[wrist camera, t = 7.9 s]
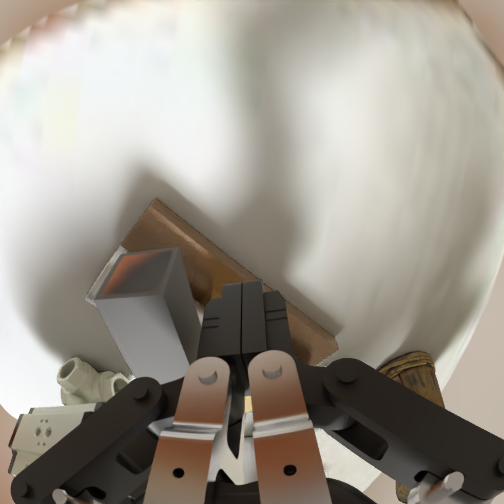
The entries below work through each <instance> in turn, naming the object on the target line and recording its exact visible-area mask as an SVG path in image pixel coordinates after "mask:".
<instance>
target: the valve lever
mask: <svg viewBox="0 0 504 504" xmlns="http://www.w3.org/2000/svg"><path fill="white" fill-rule="evenodd" d="M94 302H95V304H96V306H97V309H98V311H99V313H100V315H101V317H102V319H103V321H104V323H105V325H106V326H107V328H108V330H109V332H110V334H111V336H112V338H113V340H114V342H115V343H116V345H117V347H118V349H119V351H120V352H121V354H122V356H123V358H124V359H125V361H126V363H127V365H128V366H129V368H130V370H131V371H132V373H133V375H134V376H135V378H136V379H137V378H140V377H151V378H154V379H155V380H157V381H158V382H159V384H160V385H161V384H164V383H168V382H171V381H174V380H177V379H180V378H182V377H184V376H185V374H186V371H187V369H188V368H189V366H190V365H191V364H192V363H194V362H195V361H196V359H197V353H198V346H199V340H200V333H201V329H202V328H201V324H200V320H199V317H198V314H197V310H196V307H195V303H194V300H193V296H192V293H191V289H190V285H189V282H188V278H187V274H186V270H185V267H184V263H183V259H182V255H181V251H180V247H174V248H165V249H157V250H149V251H141V252H133V253H125V254H120V256H119V257H118V259H117V261H116V262H115V264H114V265H113V267H112V269H111V270H110V272H109V274H108V275H107V277H106V279H105V281H104V282H103V284H102V286H101V287H100V289H99V291H98V293H97V294H96V296H95V298H94Z"/></svg>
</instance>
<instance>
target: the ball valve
mask: <svg viewBox="0 0 504 504" xmlns="http://www.w3.org/2000/svg"><path fill="white" fill-rule="evenodd" d="M57 382H58V384H59V385H61V386H62V387H61V399H62V403H63V404H64V405H65V406H56V407H40V408H31V409H30V411H29V414H20V416H19V419H18V421H17V424H16V426H15V429H14V431H13V434H12V437H11V439H10V442H9V445H8V446H9V448H11V449H12V454H13V457H12V460H11V463H10V466H9V469H8V473H9V474H11V475H12V476H14V477H15V476H16V475H17V474H19V473H20V472H21V471H22V470H24V469H25V468H26V467H27V466H29V465H30V464H31V463H32V462H34V461H35V460H36V459H37V458H39V457H40V456H41V455H42V454H44V453H45V452H46V451H47V450H49V449H50V448H51V447H52V446H54V445H55V444H56V443H57V442H58V441H60V440H61V439H62V438H63V437H65V436H66V435H67V434H68V433H69V432H71V431H72V430H73V429H74V428H76V427H77V426H78V425H79V424H80V423H82V422H83V421H84V420H85V419H86V418H88V417H89V416H90V415H91V414H92V413H94V412H95V411H96V410H97V409H98V408H100V407H101V406H102V405H103V404H104V403H106V402H107V401H108V400H109V399H110V398H112V397H113V396H114V395H115V394H116V393H118V392H119V391H120V390H121V389H122V388H124V387H125V386H126V385H127V384H128V383H130V381H129V380H128V379H127V378H126V377H125V376H124V375H122V374H121V373H114V372H112V371H105V372H101V373H98V372H97V371H96V370H95V369H94V368H93V367H92V366H90V365H89V364H88V363H87V362H82V361H81V360H80V359H79V358H78V357H74V358H70V359H68V360H67V361H66V362H65V363H64V364H63V365H62V366H61V367H60V369H59V371H58V374H57ZM148 480H149V478H148V479H147V480H145V481H144V482H143V483H142V484H141V485H140V486H139V487H137V488H136V489H135V490H134V491H133V492H132V493H130V494H129V495H128V496H127V497H126V498H125V499H123V500H122V501H121V502H120V503H119V504H131V503H132V502H133V501H134V500H135V499H137V498H138V497H139V496H140V495H141V494H143V493H144V492H146V489H147V484H148Z"/></svg>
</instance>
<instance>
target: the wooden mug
mask: <svg viewBox="0 0 504 504" xmlns="http://www.w3.org/2000/svg"><path fill="white" fill-rule="evenodd" d="M378 371H379V372H381V373H382V374H384V375H386V376H387V377H389V378H391V379H393V380H394V381H396V382H398V383H400V384H401V385H403V386H405V387H407V388H408V389H410V390H412V391H414V392H415V393H417V394H419V395H421V396H423V397H424V398H426V399H428V400H430V401H432V402H433V403H435V404H437V405H439V406H441V407H442V408H444V409H445V406H444V402H443V399H442V395H441V392H440V388H439V385H438V381H437V378H436V375H435V366H434V363H433V360H432V358H431V356H430V355H429V354H427V353H423V352H414V353H410V354H407V355H404V356H401V357H399V358H396V359H394V360H393V361H391V362H390V363H388V364H386V365H384V366H383V367H382V368H380V369H379V370H378ZM410 491H411V490H410V489H409V488H407V487H405V486H404V485H402V484H400V483H399V482H397V481H396V494H397V497H398V500H399V501H401V502H402V503H405V504H407V500H408V496H409V493H410Z"/></svg>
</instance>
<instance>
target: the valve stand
mask: <svg viewBox="0 0 504 504" xmlns="http://www.w3.org/2000/svg"><path fill="white" fill-rule="evenodd" d="M174 247H180V251H181V255H182V259H183V263H184V267H185V270H186V274H187V278H188V282H189V285H190V289H191V293H192V296H193V300H194V303H195V307H196V310H197V314H198V317H199V320H200V324H201V327H202V321H203V314H204V309H205V307H206V306H207V304H208V303H209V302H210V300H211V299H217V298H221V296H222V287H223V284H231V283H238V282H242V283H243V282H245V281H252V280H259V279H258V278H256V277H255V276H254V275H253V274H251V273H250V272H249V271H247V270H246V269H245V268H244V267H242V266H241V265H240V264H239V263H237V262H236V261H235V260H233V259H232V258H231V257H230V256H228V255H227V254H226V253H224V252H223V251H222V250H221V249H219V248H218V247H217V246H216V245H214V244H213V243H212V242H211V241H209V240H208V239H207V238H205V237H204V236H203V235H202V234H200V233H199V232H198V231H197V230H195V229H194V228H193V227H192V226H190V225H189V224H188V223H187V222H185V221H184V220H183V219H182V218H180V217H179V216H178V215H177V214H175V213H174V212H173V211H172V210H170V209H169V208H168V207H167V206H165V205H164V204H163V203H162V202H160V201H159V200H158V199H157V198H155V199H154V201H153V202H152V203H151V204H150V206H149V207H148V208H147V210H146V211H145V212H144V213H143V215H142V216H141V217H140V219H139V220H138V221H137V223H136V224H135V225H134V226H133V228H132V229H131V230H130V232H129V233H128V234H127V236H126V237H125V239H124V240H123V241H122V243H121V244H120V245H119V247H118V248H117V250H116V251H115V252H114V254H113V255H112V257H111V258H110V259H109V261H108V262H107V264H106V265H105V267H104V268H103V270H102V271H101V273H100V274H99V275H98V277H97V278H96V280H95V281H94V283H93V285H92V286H91V288H90V289H89V291H88V293H87V294H88V295H87V296H86V298H85V300H86V301H88V302H89V303H91V304H92V305H93V306H95V307H96V308H97V306H96V304H95V302H94V298H95V296H96V294H97V293H98V291H99V289H100V287H101V286H102V284H103V282H104V281H105V279H106V277H107V275H108V274H109V272H110V270H111V269H112V267H113V265H114V264H115V262H116V261H117V259H118V257H119V256H120V254H125V253H133V252H141V251H149V250H157V249H165V248H174ZM263 287H264V292H270V291H273V290H272V289H271V288H269V287H268V286H267V285H265V284H264V283H263ZM285 304H286V311H287V317H288V323H289V330H290V336H291V343H292V349H293V353H294V355H295V356H296V358H297V359H299V360H300V361H301V362H303V363H305V364H307V365H310V366H314V365H316V364H317V363H319V362H320V361H322V360H323V359H325V358H327V357H328V356H330V355H331V354H333V353H334V352H335V351H337V350H338V349H339V348H338V345H337V342H336V339H335V337H333V336H332V335H331V334H329V333H328V332H327V331H326V330H324V329H323V328H322V327H320V326H319V325H318V324H316V323H315V322H314V321H312V320H311V319H310V318H308V317H307V316H306V315H304V314H303V313H302V312H301V311H299V310H298V309H297V308H295V307H294V306H293V305H291V304H290V303H289V302H288V301H286V300H285ZM251 411H252V403H251V396H245V413H246V414H247V413H249V412H251Z"/></svg>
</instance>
